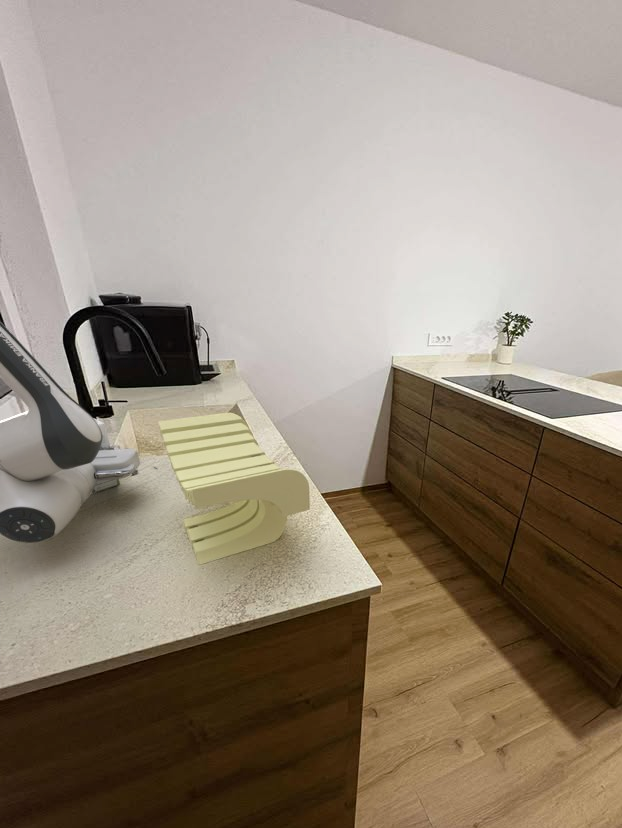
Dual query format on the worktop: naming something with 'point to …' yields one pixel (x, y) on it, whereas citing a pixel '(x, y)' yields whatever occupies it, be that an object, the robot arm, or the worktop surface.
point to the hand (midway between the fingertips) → (91, 450)
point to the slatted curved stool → (230, 485)
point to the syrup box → (104, 446)
